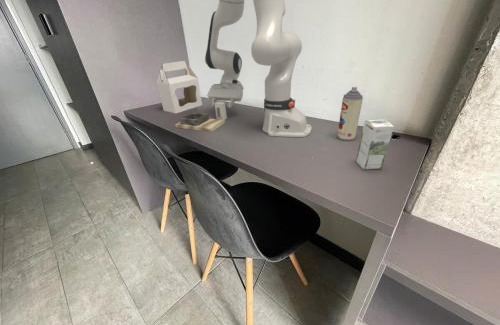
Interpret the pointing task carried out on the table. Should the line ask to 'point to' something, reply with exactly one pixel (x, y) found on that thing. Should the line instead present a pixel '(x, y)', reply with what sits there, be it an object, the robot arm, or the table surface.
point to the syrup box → (374, 144)
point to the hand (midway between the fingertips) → (221, 106)
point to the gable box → (171, 84)
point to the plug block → (220, 110)
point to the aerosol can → (349, 115)
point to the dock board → (199, 122)
